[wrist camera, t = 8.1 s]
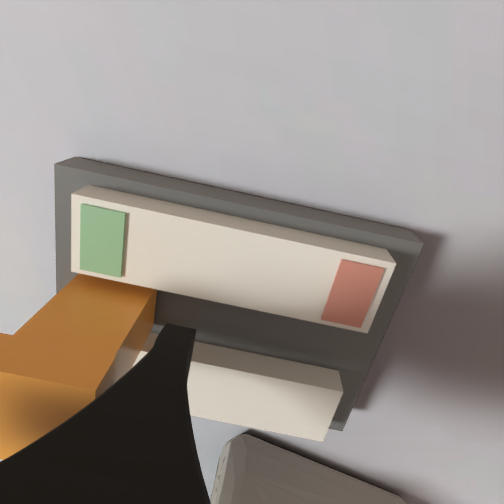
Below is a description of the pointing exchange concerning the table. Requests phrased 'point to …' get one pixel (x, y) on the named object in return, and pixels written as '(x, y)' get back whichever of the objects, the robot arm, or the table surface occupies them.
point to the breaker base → (242, 288)
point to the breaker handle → (69, 355)
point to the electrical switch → (285, 478)
